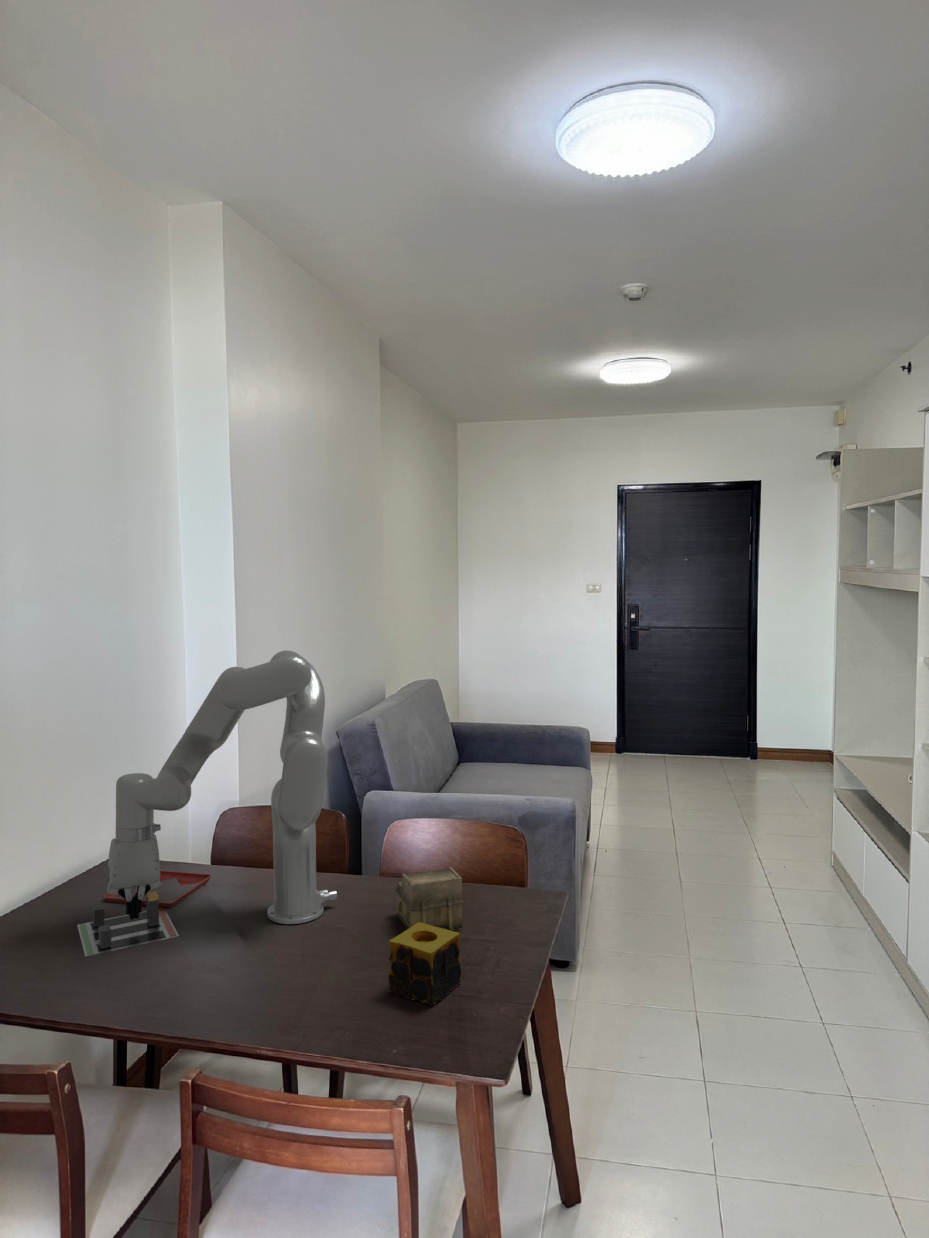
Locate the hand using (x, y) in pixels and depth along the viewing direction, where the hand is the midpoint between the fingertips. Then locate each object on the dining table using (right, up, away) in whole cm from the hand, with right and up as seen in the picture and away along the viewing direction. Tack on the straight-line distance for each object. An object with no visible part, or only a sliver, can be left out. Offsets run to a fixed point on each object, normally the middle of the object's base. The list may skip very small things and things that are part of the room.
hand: (133, 916), depth 177 cm
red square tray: (-2, -4, +21) cm, 22 cm away
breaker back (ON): (-9, -3, +2) cm, 9 cm away
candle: (+64, -6, -23) cm, 68 cm away
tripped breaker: (+3, -3, +2) cm, 5 cm away
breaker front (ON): (-2, -3, -8) cm, 9 cm away
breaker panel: (-1, -4, -1) cm, 4 cm away
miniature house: (+64, -4, +7) cm, 64 cm away
